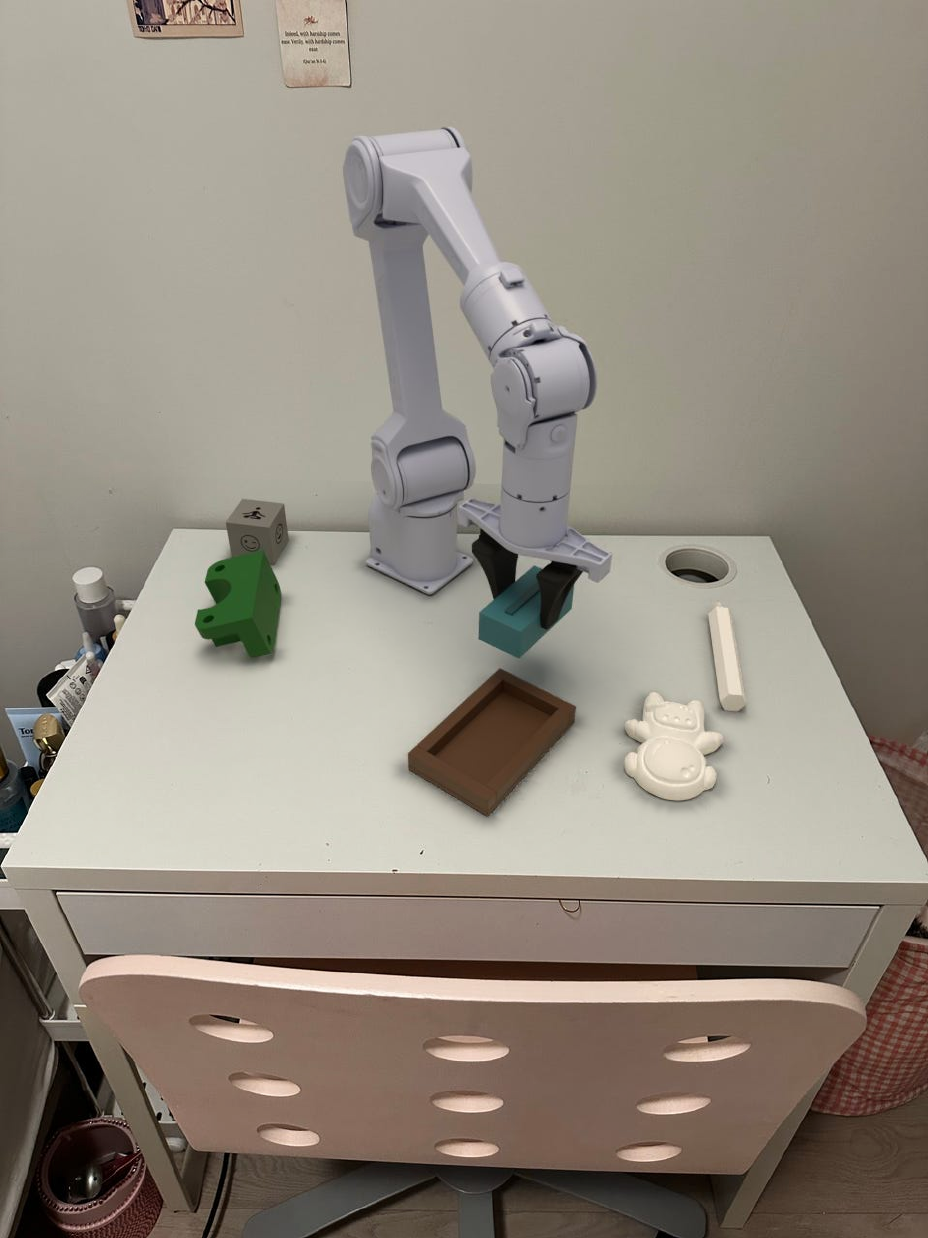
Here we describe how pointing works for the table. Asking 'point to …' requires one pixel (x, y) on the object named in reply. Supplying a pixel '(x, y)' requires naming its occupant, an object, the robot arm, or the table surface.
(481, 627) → the teal rectangular block
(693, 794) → the cream flat figure
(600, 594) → the table surface
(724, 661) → the marker
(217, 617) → the clamp
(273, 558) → the dice cube
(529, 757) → the frame
